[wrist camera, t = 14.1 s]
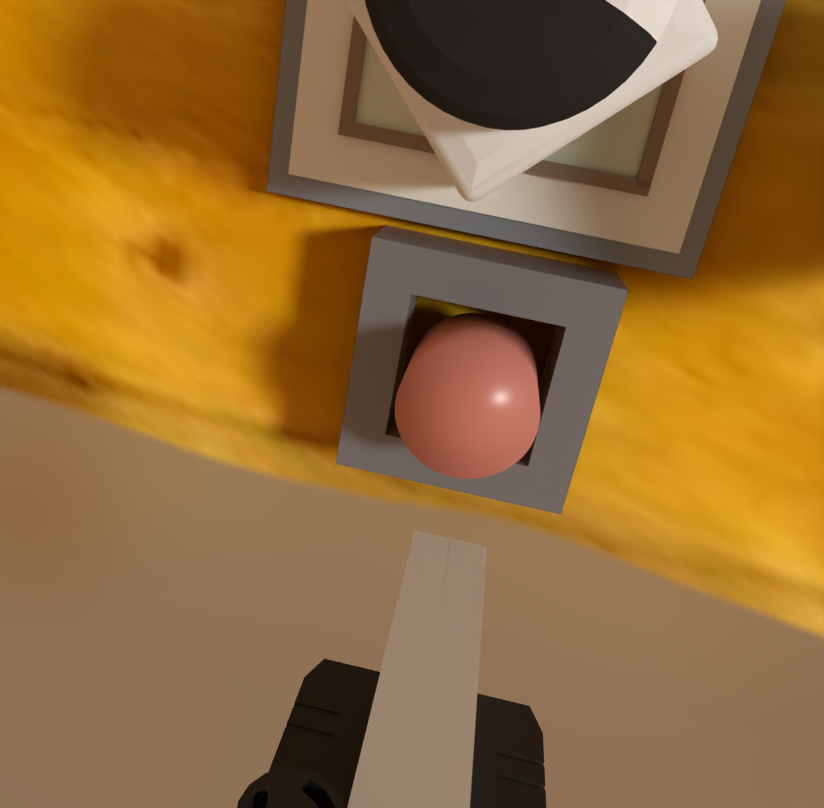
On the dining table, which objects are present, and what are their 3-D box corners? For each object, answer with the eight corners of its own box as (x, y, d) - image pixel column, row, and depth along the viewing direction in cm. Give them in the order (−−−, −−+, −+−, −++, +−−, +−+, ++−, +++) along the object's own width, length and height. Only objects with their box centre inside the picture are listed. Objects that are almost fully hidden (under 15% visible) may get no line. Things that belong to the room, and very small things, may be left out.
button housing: (351, 433, 32) (336, 463, 29) (386, 225, 28) (372, 236, 25) (556, 479, 31) (560, 514, 28) (617, 272, 28) (628, 290, 25)
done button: (400, 417, 29) (383, 461, 25) (423, 300, 27) (408, 330, 23) (520, 444, 29) (521, 492, 25) (550, 328, 27) (556, 361, 23)
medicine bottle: (478, 190, 26) (453, 231, 15) (367, 0, 24) (244, -117, 13) (667, 68, 24) (806, 9, 13) (560, -148, 22) (610, -436, 11)
